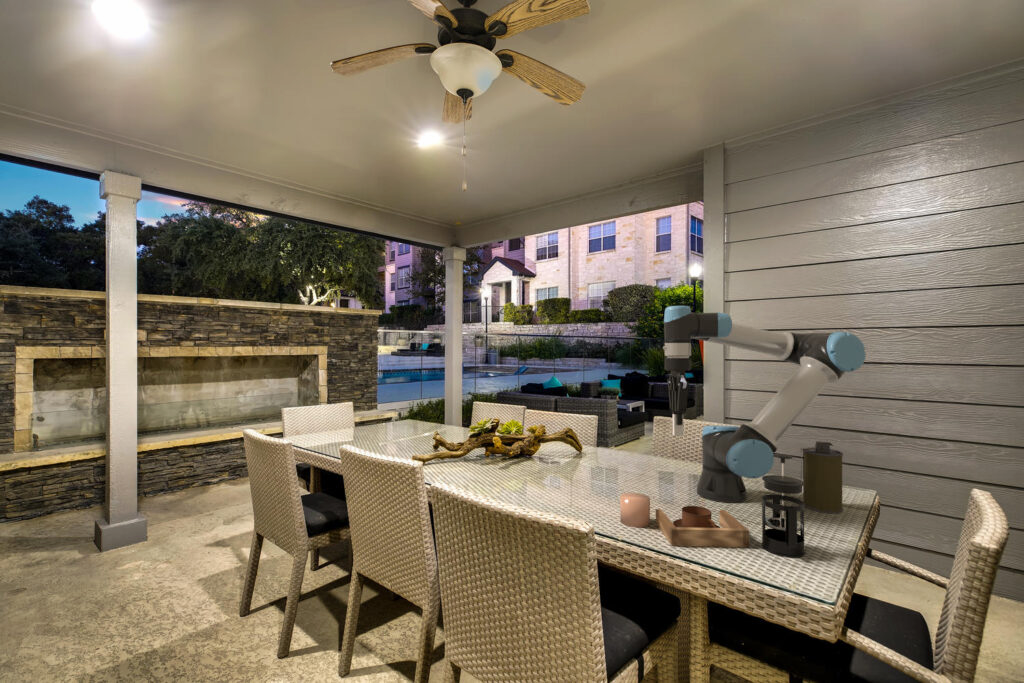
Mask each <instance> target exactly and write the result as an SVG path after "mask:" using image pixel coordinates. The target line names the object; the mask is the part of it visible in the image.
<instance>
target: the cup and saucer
mask: <svg viewBox="0 0 1024 683" xmlns="http://www.w3.org/2000/svg"><path fill="white" fill-rule="evenodd" d="M672 523H673V524H674V526H675V527H691V528H721V526H720V525H717V524H716V523H715V520H713V519H712V511H711V510H710V509H708V508H706V507H703V506H698V505H687V506H686V505H685V506H682V508H681V518H678V519H674V521H673V522H672Z"/></svg>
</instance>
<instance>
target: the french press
mask: <svg viewBox="0 0 1024 683" xmlns="http://www.w3.org/2000/svg"><path fill="white" fill-rule="evenodd" d="M773 456H774V458H778V459H780V464H781V475H779V474H778V475H777V474H769V475H767V474H766V475H764V476H762V477H761V480H762V481H764V482H763V483H764V484H763V487H764V489H766V490H769V491H770V492H775V493H777V494H773V493H772V494H765V495H763V496H761V497H762V498H761V499H762V500H761V502H762V503H761V506H762V507H761V510H762V512H761V518H762V519H761V525H762V526H761V530H762V532H761V533H762V534H761V536H762V537H761V540H762V541H761V543H760V545H761V548H762V549H763V550H764V551H766V552H768V553H770V554H772V555H776V556H779V557H784V558H792V559H795V558H796V559H797V558H798V559H799V558H802V557H804V556H806V549H805V507H804V502H803V499H799V498H796V497H793V496H789V495H799V494H801V493H802V494H803V485H804V482H803V479H802V480H801V479H799V478H796V477H792V476H787V475H786V476H785V474H784V470H785V469H784V465H785V464H786V460H791V459H793V456H791V455H789V454H786V453H785V454H783V453H774V454H773ZM778 493H779V494H778ZM785 494H786V495H785ZM770 500H771V501H772V502H770ZM785 502H789V503H792V504H796V505H785V504H784V503H785ZM766 508H769V509H772V516H768V517H767V516H766ZM798 512H799V514H800V518H799V519H800V522H799V521H798ZM784 513H785V514H784ZM784 515H785V517H784ZM766 526H767V527H768V528H766ZM798 532H800V533H798Z"/></svg>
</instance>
